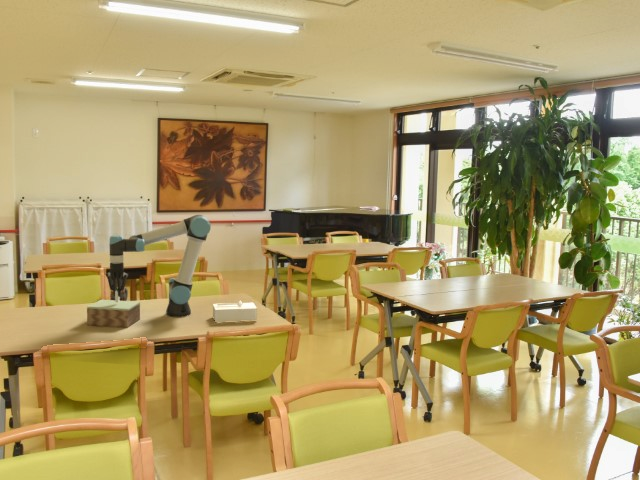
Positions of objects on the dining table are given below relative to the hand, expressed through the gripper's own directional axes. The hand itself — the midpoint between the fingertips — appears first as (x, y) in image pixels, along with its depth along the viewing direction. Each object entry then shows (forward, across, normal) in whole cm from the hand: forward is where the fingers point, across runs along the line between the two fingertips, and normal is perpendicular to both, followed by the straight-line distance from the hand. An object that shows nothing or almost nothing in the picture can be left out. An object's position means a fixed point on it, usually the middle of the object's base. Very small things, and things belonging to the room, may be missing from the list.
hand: (117, 301), depth 343 cm
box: (+13, +2, 0) cm, 13 cm away
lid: (+2, +2, 0) cm, 3 cm away
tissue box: (+13, -65, -21) cm, 70 cm away
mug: (+13, +8, -22) cm, 27 cm away
